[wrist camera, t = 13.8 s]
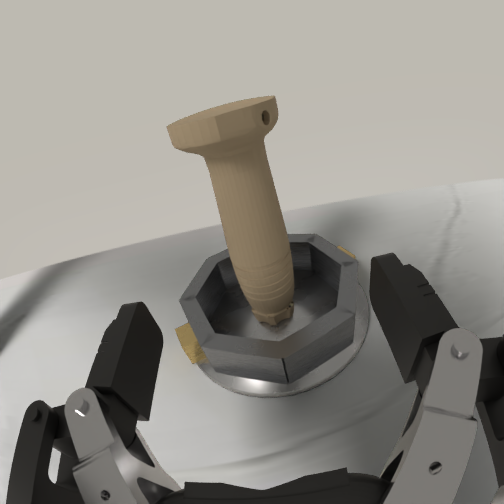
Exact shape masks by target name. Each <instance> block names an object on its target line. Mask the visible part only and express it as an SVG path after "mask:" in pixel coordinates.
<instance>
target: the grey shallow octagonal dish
mask: <svg viewBox="0 0 504 504" xmlns="http://www.w3.org/2000/svg"><path fill="white" fill-rule="evenodd" d="M287 235H288V239H289V245H290V250H291V256H292V263H293V273H294V295H293V302H294V313H293V315H292V316H291V317H290V318H287V319H284V320H282V321H280V322H279V323H278V324H277V325H270V324H269V323H267V322H260V321H258V320H257V319H256V318H255V316H254V315H253V313H252V310H251V309H252V308H253V307H251V305H250V304H249V302H248V301H247V299H246V297H245V295H244V293H243V291H242V289H241V286H240V284H239V282H238V279H237V277H236V274H235V271H234V268H233V265H232V262H231V259H230V255H229V251H228V249H227V250H224V251H222V252H220V253H218V254H216V255H214V256H211V257H209V258H208V259H206V261H205V262H204V264H203V265H202V267H201V268H200V270H199V271H198V273H197V274H196V276H195V277H194V279H193V280H192V282H191V283H190V285H189V286H188V288H187V289H186V291H185V292H184V294H183V295H182V297H181V298H180V304H181V306H182V308H183V310H184V313H185V315H186V317H187V319H188V323H187V324H185V325H183V326H181V327H179V328H176V329H175V331H176V333H177V336H178V338H179V341H180V343H181V346H182V348H183V350H184V351H185V353H186V354H187V356H188V357H189V359H190V361H191V362H192V364H194V363H197V365H198V366H199V367H200V369H201V370H202V371H203V372H204V374H205V375H207V376H208V377H209V378H210V379H211V380H212V381H214V382H215V383H217V384H218V385H220V386H222V387H223V388H226V389H228V390H230V391H233V392H235V393H239V394H242V395H246V396H253V397H261V398H273V397H283V396H290V395H294V394H298V393H302V392H305V391H308V390H310V389H313V388H315V387H317V386H320V385H321V384H323V383H325V382H327V381H328V380H330V379H332V378H333V377H334V376H336V375H337V374H338V373H340V372H341V371H342V370H343V369H344V368H345V367H346V366H347V365H348V364H349V363H350V362H351V361H352V360H353V358H354V357H355V356H356V354H357V353H358V351H359V350H360V348H361V346H362V344H363V342H364V339H365V336H366V333H367V328H368V320H369V306H368V302H367V298H366V295H365V293H364V291H363V289H362V287H361V286H360V284H359V283H358V262H357V260H356V259H355V255H353V254H352V253H350V252H348V251H347V250H345V249H344V248H342V247H341V246H338V247H336V246H334V245H333V244H331V243H329V242H328V241H326V240H325V239H323V238H322V237H320V236H318V235H317V234H316V235H315V234H287Z"/></svg>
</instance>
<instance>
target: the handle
mask: <svg viewBox="0 0 504 504" xmlns="http://www.w3.org/2000/svg"><path fill="white" fill-rule="evenodd" d="M277 120H278V108H277V104H276V99H275V96H265V97H257V98H251V99H246V100H241V101H236V102H232V103H228V104H224V105H221V106H217V107H214V108H210V109H207V110H204V111H201V112H198V113H196V114H193V115H190V116H188V117H185V118H183V119H180V120H178V121H176V122H174V123H172V124H170V125H168V126H167V129H168V133H169V136H170V139H171V141H172V144H173V146H174V147H175V148H176V149H179V150H182V151H185V152H188V153H194V154H199V155H201V156H203V157H204V158H205V161H206V164H207V167H208V169H209V172H210V177H211V181H212V185H213V189H214V193H215V197H216V201H217V205H218V209H219V213H220V217H221V222H222V226H223V230H224V234H225V239H226V243H227V247H228V251H229V255H230V259H231V262H232V265H233V268H234V271H235V274H236V277H237V279H238V282H239V284H240V286H241V289H242V291H243V293H244V295H245V297H246V299H247V301H248V302H249V304H250V305H251V307H253V308H252V309H251V310H252V313H253V315H254V316H255V318H256V319H257V320H258V321H260V322H267V323H269V324H270V325H277V324H278V323H279V322H280V321H282V320H284V319H287V318H290V317H291V316H292V315H293V313H294V302H293V295H294V273H293V263H292V256H291V250H290V245H289V239H288V235H287V232H286V228H285V224H284V220H283V216H282V212H281V209H280V205H279V201H278V197H277V194H276V190H275V186H274V182H273V178H272V175H271V171H270V167H269V163H268V160H267V155H266V150H265V145H264V137H265V135H267V134H268V133H269V132H270V131H271V130H272V129H273V127H274V126H275V124H276V122H277Z"/></svg>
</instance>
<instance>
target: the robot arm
mask: <svg viewBox="0 0 504 504" xmlns="http://www.w3.org/2000/svg"><path fill="white" fill-rule="evenodd" d="M369 293H370V301H371V305H372V308H373V310H374V312H375V314H376V316H377V319H378V321H379V323H380V325H381V327H382V330H383V332H384V334H385V336H386V339H387V341H388V343H389V346H390V348H391V350H392V353H393V355H394V357H395V360H396V362H397V365H398V367H399V370H400V372H401V375H402V377H403V380H404V382H405V383H408V382H411V381H414V380H416V383H417V385H418V389H417V392H416V395H415V398H414V401H413V404H412V406H411V409H410V412H409V415H408V417H407V420H406V422H405V425H404V427H403V430H402V432H401V435H400V437H399V439H398V441H397V443H396V445H395V447H394V449H393V450H392V452H391V454H390V456H389V458H388V460H387V462H386V464H385V466H384V468H383V470H382V472H381V474H380V476H379V477H376V476H373V475H368V474H361V473H348V472H347V467H346V468H342V469H338V470H333V471H328V472H323V473H318V474H313V475H307V476H303V477H301V478H298V479H296V480H293V481H290V482H287V483H285V484H282V485H279V486H276V487H273V488H270V489H266V490H256V489H250V488H244V487H239V486H234V485H229V484H225V483H198V482H185V486H184V489H181V488H180V486H179V485H178V484H177V483H176V482H175V480H174V479H173V478H172V477H170V476H169V475H168V474H167V473H166V472H165V471H164V470H163V469H162V467H161V466H160V464H159V463H158V461H157V460H156V458H155V457H154V455H153V453H152V452H151V450H150V448H149V447H148V445H147V443H146V442H145V440H144V438H143V436H142V435H141V433H140V431H139V430H138V429H137V428H136V424H137V420H138V421H149V418H150V412H151V406H152V400H153V394H154V389H155V383H156V378H157V373H158V368H159V363H160V358H161V353H162V348H163V335H162V332H161V330H160V328H159V326H158V325H157V323H156V321H155V320H154V318H153V317H152V315H151V313H150V312H149V310H148V308H147V307H146V305H145V304H144V303H143V302H136V303H129V304H124V305H122V306H121V308H120V310H119V313H118V315H117V318H116V319H115V320H113V321H112V323H111V324H110V325H109V326H108V328H107V329H106V330H105V333H104V335H103V338H102V341H101V344H100V346H99V349H98V353H97V354H96V357H95V360H94V362H93V365H92V368H91V371H90V374H89V377H88V380H87V383H86V386H85V388H81V389H78V390H76V391H75V392H73V393H72V394H71V395H70V396H69V398H68V399H67V401H66V404H65V405H62V406H58V407H54V408H51V407H50V406H49V405H47V404H46V403H45V402H44V401H41V400H37V401H35V402H33V403H32V404H31V405H30V406H29V407H28V408H27V410H26V412H25V415H24V418H23V422H22V425H21V429H20V433H19V436H18V440H17V444H16V449H15V453H14V458H13V462H12V467H11V473H10V479H9V485H8V492H7V500H6V504H452V503H453V500H454V498H455V496H456V493H457V491H458V488H459V486H460V483H461V480H462V478H463V475H464V472H465V469H466V466H467V463H468V460H469V457H470V454H471V450H472V447H473V443H474V440H475V436H476V432H477V420H476V419H475V418H473V411H474V406H475V404H476V407H477V410H478V413H479V416H480V419H481V422H482V425H483V428H484V431H485V434H486V437H487V441H488V444H489V448H490V451H491V455H492V459H493V463H494V467H495V471H496V476H497V481H498V486H499V489H498V491H497V492H496V494H495V496H494V498H493V500H492V501H491V503H490V504H504V335H503V337H497V338H486V339H479V338H478V337H477V336H476V335H475V334H474V333H473V332H471V331H469V330H467V329H462V328H459V327H458V326H457V324H456V323H455V321H454V320H453V318H452V316H451V315H450V313H449V312H448V310H447V309H446V307H445V306H444V304H443V303H442V301H441V300H440V298H439V297H438V295H437V294H435V291H434V289H433V288H432V286H431V285H429V282H428V281H427V279H426V278H425V277H424V275H423V274H422V272H420V271H419V270H417V269H416V268H414V267H413V266H411V265H410V264H408V265H404V266H403V265H402V263H401V262H400V260H399V259H398V258H397V256H396V255H395V254H394V253H389V254H385V255H380V256H376V257H373V258H372V259H371V272H370V290H369ZM52 447H53V448H55V449H57V450H58V451H60V452H61V457H60V463H59V469H58V476H57V481H56V483H55V484H54V483H53V482H51V480H50V479H49V476H48V469H49V463H50V458H51V452H52Z"/></svg>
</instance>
